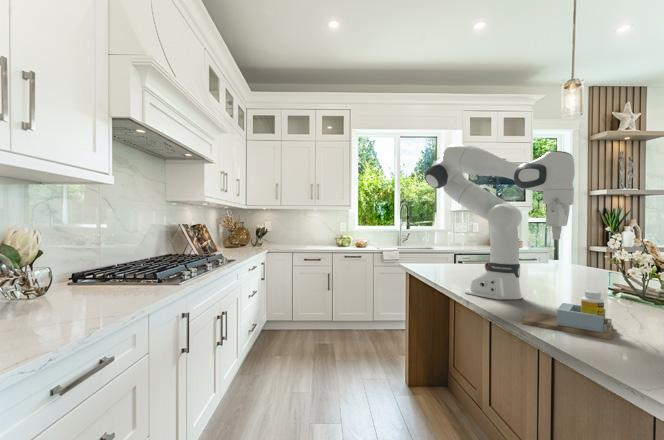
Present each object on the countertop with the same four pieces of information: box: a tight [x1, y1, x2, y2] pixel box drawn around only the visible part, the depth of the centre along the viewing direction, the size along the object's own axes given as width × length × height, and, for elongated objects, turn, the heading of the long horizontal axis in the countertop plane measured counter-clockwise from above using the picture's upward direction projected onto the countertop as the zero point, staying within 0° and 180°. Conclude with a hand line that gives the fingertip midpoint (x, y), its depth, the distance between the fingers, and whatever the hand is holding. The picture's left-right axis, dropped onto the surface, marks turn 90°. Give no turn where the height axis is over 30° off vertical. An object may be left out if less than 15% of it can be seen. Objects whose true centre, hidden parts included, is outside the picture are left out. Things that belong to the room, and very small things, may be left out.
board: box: [522, 311, 614, 341], centre depth 111 cm, size 22×14×3 cm, turn 50°
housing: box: [556, 302, 606, 333], centre depth 108 cm, size 11×12×4 cm
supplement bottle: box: [580, 290, 605, 324], centre depth 107 cm, size 6×6×10 cm
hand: (556, 239), depth 122 cm, fingers closed
